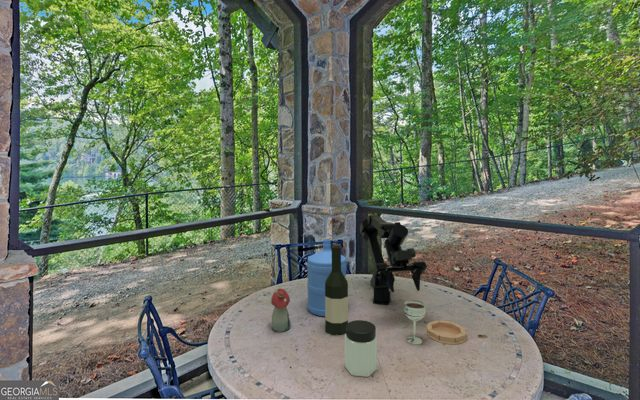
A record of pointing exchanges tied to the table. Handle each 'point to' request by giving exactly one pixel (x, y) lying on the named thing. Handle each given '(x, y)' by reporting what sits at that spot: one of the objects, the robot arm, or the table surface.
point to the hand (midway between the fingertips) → (406, 291)
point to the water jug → (320, 277)
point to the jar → (361, 348)
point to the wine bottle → (336, 296)
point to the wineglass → (414, 316)
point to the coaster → (446, 332)
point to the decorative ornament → (280, 311)
